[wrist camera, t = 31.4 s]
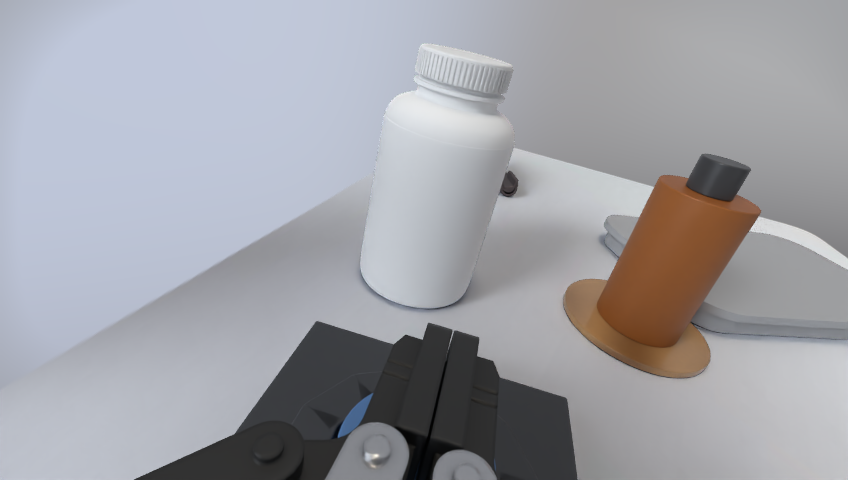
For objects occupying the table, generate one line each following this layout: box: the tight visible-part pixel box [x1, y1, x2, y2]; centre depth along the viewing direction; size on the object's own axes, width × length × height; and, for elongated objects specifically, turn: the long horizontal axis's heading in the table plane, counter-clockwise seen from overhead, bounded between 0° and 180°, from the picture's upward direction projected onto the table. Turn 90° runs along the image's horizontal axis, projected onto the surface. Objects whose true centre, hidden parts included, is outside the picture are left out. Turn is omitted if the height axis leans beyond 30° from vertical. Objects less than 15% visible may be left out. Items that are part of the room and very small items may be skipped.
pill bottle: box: [360, 43, 515, 308], centre depth 26 cm, size 8×8×15 cm
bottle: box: [597, 154, 761, 348], centre depth 27 cm, size 6×6×12 cm
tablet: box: [604, 215, 848, 340], centre depth 39 cm, size 16×26×2 cm, turn 99°
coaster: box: [563, 279, 710, 378], centre depth 30 cm, size 10×10×1 cm
